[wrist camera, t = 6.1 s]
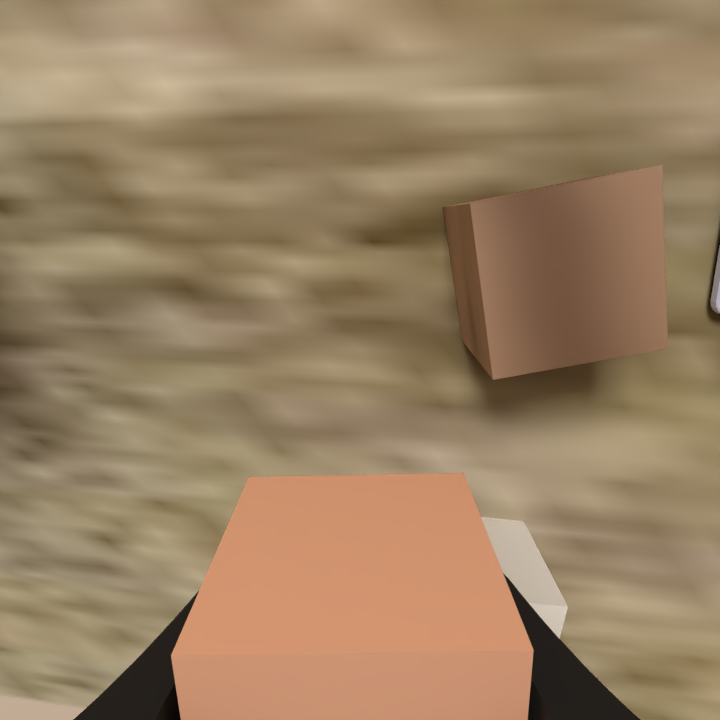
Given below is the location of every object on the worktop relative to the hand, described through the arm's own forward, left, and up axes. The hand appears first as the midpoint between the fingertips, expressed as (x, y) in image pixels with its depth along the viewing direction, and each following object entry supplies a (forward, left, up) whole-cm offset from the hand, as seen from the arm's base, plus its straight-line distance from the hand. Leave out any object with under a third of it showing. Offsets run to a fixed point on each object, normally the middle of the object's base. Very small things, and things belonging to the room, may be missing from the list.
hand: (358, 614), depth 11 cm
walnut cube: (-6, -6, -10) cm, 13 cm away
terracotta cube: (0, 0, -2) cm, 2 cm away
